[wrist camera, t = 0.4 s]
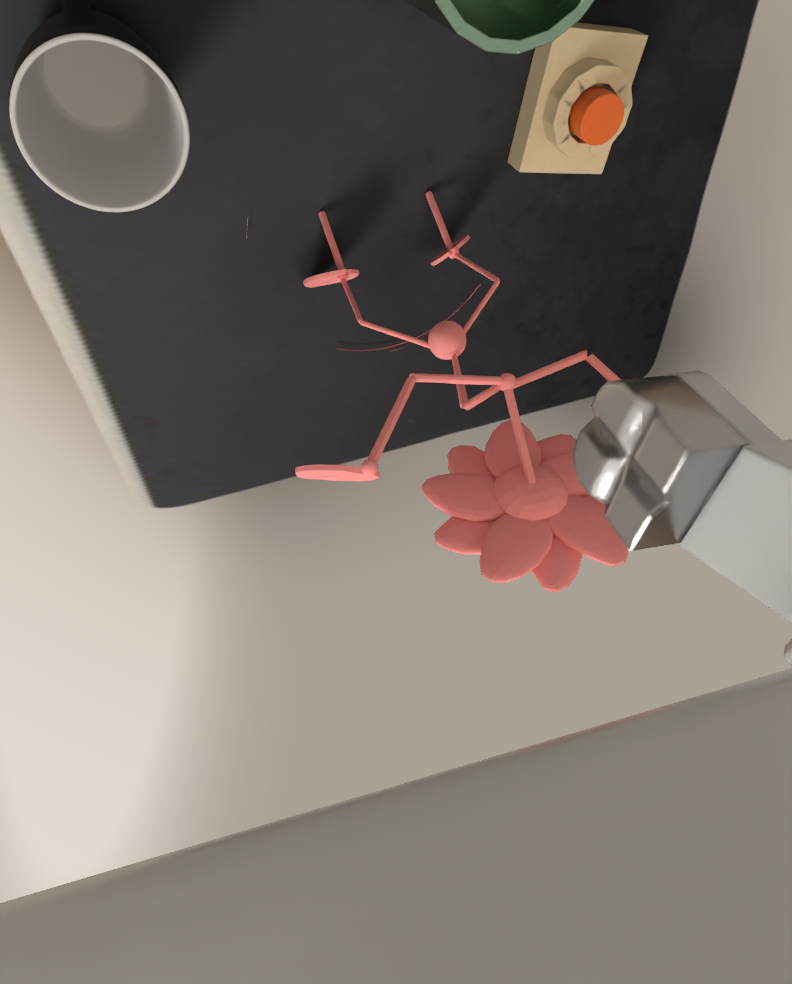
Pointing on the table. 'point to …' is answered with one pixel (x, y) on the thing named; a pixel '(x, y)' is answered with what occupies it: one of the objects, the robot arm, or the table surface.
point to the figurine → (494, 463)
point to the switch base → (572, 96)
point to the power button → (596, 116)
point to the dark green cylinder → (506, 21)
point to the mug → (97, 112)
